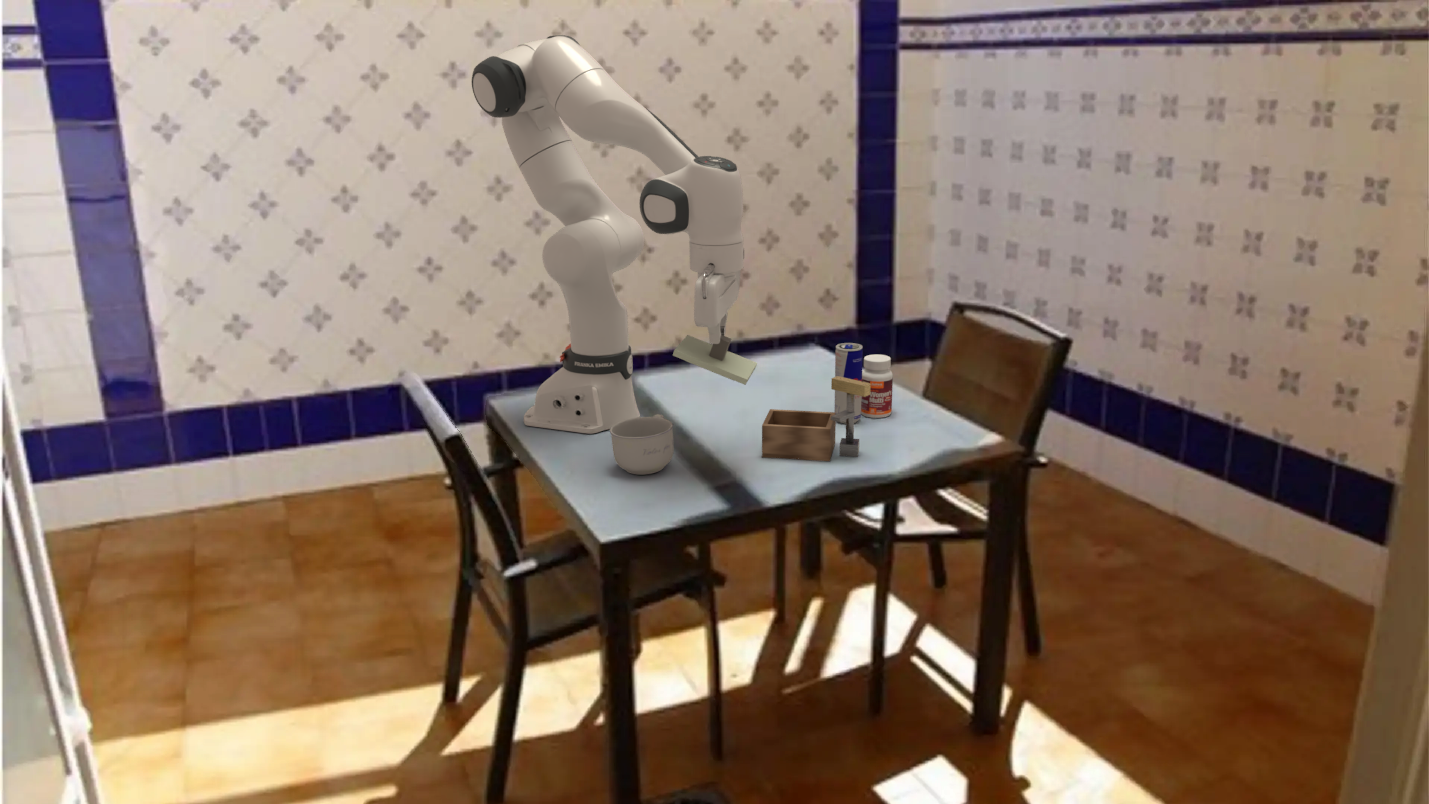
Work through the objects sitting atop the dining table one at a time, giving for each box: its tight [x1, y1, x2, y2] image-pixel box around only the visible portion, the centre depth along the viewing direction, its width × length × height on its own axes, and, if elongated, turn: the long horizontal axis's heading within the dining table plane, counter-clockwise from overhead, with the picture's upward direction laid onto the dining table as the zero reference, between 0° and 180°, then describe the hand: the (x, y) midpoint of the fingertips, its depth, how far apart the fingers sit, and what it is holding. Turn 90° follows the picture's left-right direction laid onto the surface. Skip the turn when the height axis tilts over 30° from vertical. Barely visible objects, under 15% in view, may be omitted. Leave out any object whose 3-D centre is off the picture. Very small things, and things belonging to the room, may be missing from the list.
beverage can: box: [833, 342, 864, 425], centre depth 226 cm, size 5×5×15 cm
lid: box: [672, 334, 758, 386], centre depth 199 cm, size 13×10×5 cm
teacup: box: [609, 413, 675, 476], centre depth 206 cm, size 14×11×8 cm
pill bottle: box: [861, 354, 894, 419], centre depth 230 cm, size 6×6×11 cm
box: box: [761, 408, 837, 462], centre depth 212 cm, size 12×9×6 cm
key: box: [830, 376, 871, 442], centre depth 208 cm, size 5×7×11 cm
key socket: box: [839, 437, 860, 458], centre depth 211 cm, size 3×3×2 cm
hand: (717, 339), depth 199 cm, fingers closed on lid, 2 cm apart
